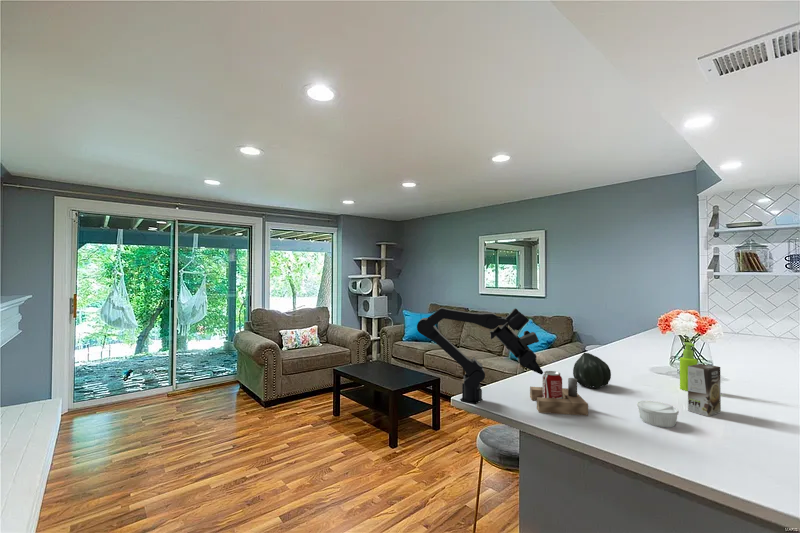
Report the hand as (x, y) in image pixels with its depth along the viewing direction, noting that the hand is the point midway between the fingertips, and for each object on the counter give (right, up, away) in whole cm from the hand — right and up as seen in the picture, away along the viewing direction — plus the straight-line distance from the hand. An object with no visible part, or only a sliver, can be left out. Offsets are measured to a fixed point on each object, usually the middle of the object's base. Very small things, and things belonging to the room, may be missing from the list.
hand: (539, 370), depth 139 cm
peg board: (+6, -13, -1) cm, 14 cm away
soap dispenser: (+70, -14, +18) cm, 73 cm away
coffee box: (+56, -13, -7) cm, 58 cm away
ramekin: (+33, -13, -16) cm, 39 cm away
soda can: (+4, -13, -1) cm, 14 cm away
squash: (+32, -14, +24) cm, 42 cm away
